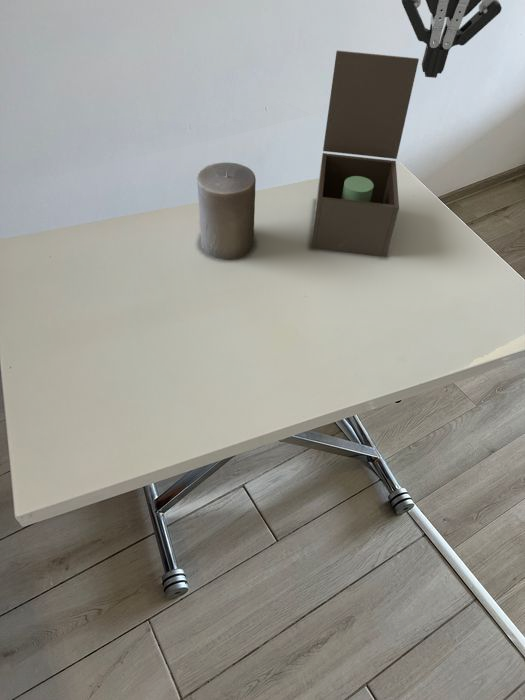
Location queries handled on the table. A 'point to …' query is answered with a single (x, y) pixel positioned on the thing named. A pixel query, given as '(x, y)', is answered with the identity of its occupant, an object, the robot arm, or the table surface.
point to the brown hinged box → (355, 206)
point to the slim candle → (357, 189)
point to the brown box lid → (369, 103)
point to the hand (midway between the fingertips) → (430, 75)
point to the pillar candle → (226, 209)
